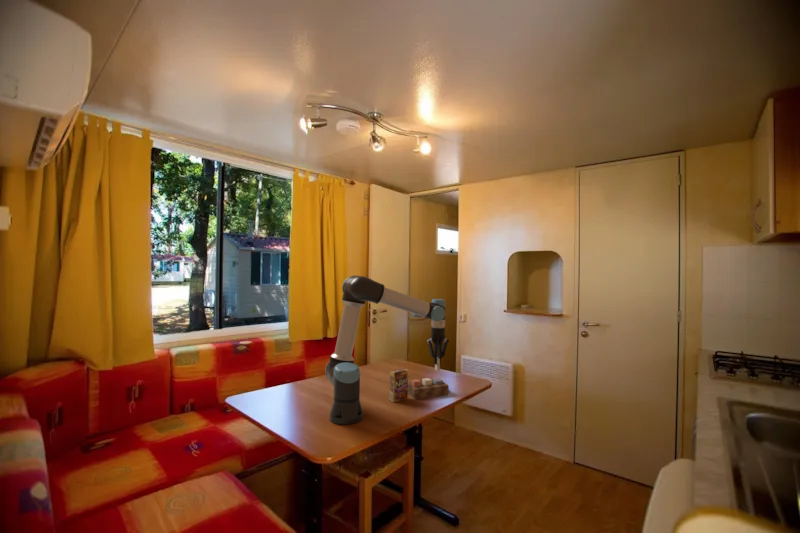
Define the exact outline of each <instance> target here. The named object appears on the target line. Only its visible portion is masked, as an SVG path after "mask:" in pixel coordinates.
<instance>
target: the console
mask: <svg viewBox="0 0 800 533" xmlns="http://www.w3.org/2000/svg"><path fill="white" fill-rule="evenodd" d="M433 379H434V378H433ZM433 379H431V380H432V385H428V386H424V385H423V384H422V380H420V381H421V386H420V387H413V386H411V381H408V395H409V396H410V397H411V398H412V399H414V400H418V399H427V398H435V397H440V396H447V395H449V385H448V383H445V382H444V381H443V384H434V383H433Z"/></svg>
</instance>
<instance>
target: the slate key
mask: <svg viewBox="0 0 800 533" xmlns="http://www.w3.org/2000/svg"><path fill="white" fill-rule="evenodd" d="M443 382H444V380H442V379H441V378H433V383H434V384H443Z"/></svg>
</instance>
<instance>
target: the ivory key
mask: <svg viewBox="0 0 800 533" xmlns="http://www.w3.org/2000/svg"><path fill="white" fill-rule="evenodd" d="M421 381H422V384H423V385H424V386H428V385H432V379H431V378H430V377H425V378H422V379H421Z"/></svg>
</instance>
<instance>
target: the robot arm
mask: <svg viewBox="0 0 800 533" xmlns="http://www.w3.org/2000/svg"><path fill="white" fill-rule="evenodd" d="M341 288H342V289H341V290H342V293H343V294H342V298H341V299H342V300H341V302H343V310H342V315H341V318H340V323H339V329H338V332H337V333H338V334H337V337H336V338H337V339H336V344H335V348H334V352H333V353H331V355H330V356H329V357H330V358H329V361H328V362H327V363H326V365H325V370H324V372H325V375H326V379H327V380H328V382H329V383H331V385H332V386H333V402H332V405H331V408H330V411H329V421H330V422H331V423H334V424H336V425H353V424H356V423H359V422H360V421H362V420H363V418H364V409H363V406H362V403H361V400H360V397H361V396H360V395H361V394H360V393H361V392H360V390H361V370H360V366H359V365H357V364H356V363H354V361H355V358H354V357H353V352H354V351H353V350H354V345H355V340H356V337H357V336H356V335H357V331H358V326H359V322H360V315H361V311H362V307H364V306H365V305H366V302H368V303H369V302H370V303H373V304H376V305H378V304H380V303H381V304H383V305H386V306H390V307H392V308H395V309H399V310H401V311H404V312H408V313H411V315H412V316H413V317H414V318H425V319H428V320H431V322H430V324H431V329H430V330H431V331H430V333H431V336H430V338H429V339H426V342H427V344H428V349H429V350H428V351H429V354H430V357H431V358H433V364H434V370H435V371H440V369H441V368H440V367H441V366H440V365H441V364H442V359H443V358H444V357H445V356H446V352H447V346H448V343H449V341H450V340H449V339H448V338H446V335H445V334H446V328H445V326H446V300H445V299H443V298H432V300H431V302H428V301H425V300H422V299H418V298H416V297H413V296H411V295H409V294H408V295H407V294H406V293H405V294H404V293H402V292H399V291H397V290H393V289H390V288H387V287H386V286H385V284H382V283H380V282H378V281H375V280H373V279H372V278H370V277H368V276H364V275H363V276H362V275H351V276H348V277H347V278H346V279H345V280H344V282H343V283H342V287H341Z"/></svg>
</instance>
